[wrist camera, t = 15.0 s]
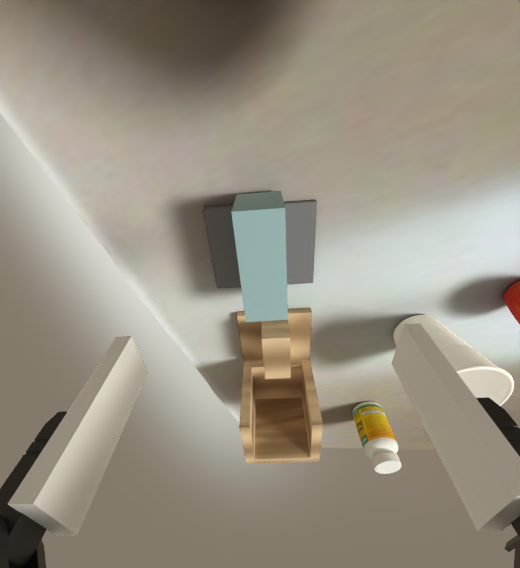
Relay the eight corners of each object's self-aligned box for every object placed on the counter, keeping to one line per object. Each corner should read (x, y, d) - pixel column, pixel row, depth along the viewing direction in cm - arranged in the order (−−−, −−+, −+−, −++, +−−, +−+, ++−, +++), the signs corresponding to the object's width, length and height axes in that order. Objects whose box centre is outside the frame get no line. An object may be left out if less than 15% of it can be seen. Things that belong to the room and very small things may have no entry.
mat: (204, 207, 29) (202, 209, 28) (315, 199, 28) (316, 201, 28) (218, 284, 34) (217, 288, 33) (311, 279, 34) (312, 282, 33)
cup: (381, 360, 41) (417, 430, 32) (375, 312, 36) (414, 379, 27) (449, 345, 40) (507, 414, 30) (452, 293, 35) (523, 357, 25)
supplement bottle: (381, 415, 49) (405, 474, 41) (352, 419, 50) (370, 477, 42) (381, 398, 47) (407, 457, 38) (351, 402, 47) (369, 461, 39)
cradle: (237, 311, 36) (229, 378, 27) (310, 307, 36) (328, 374, 27) (249, 393, 46) (246, 463, 37) (307, 391, 45) (319, 461, 36)
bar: (236, 194, 27) (231, 211, 22) (280, 191, 27) (285, 207, 22) (248, 291, 34) (245, 322, 28) (283, 288, 33) (287, 319, 28)
